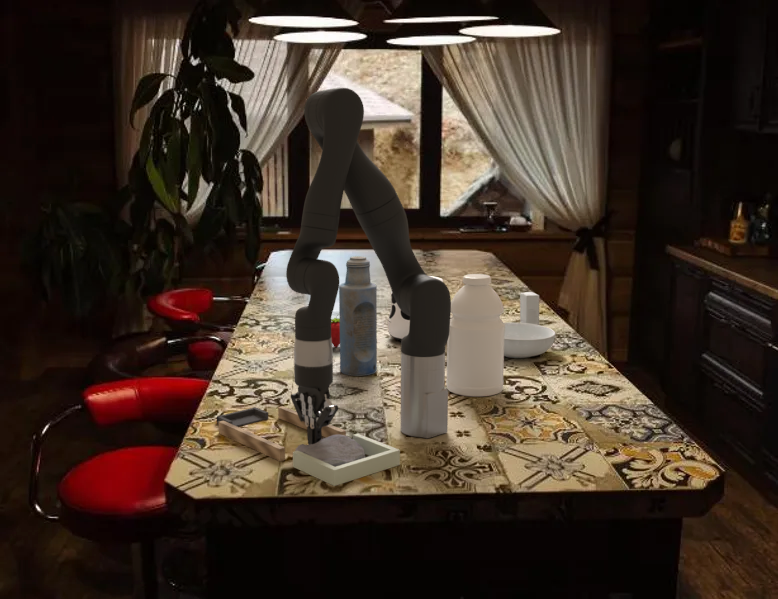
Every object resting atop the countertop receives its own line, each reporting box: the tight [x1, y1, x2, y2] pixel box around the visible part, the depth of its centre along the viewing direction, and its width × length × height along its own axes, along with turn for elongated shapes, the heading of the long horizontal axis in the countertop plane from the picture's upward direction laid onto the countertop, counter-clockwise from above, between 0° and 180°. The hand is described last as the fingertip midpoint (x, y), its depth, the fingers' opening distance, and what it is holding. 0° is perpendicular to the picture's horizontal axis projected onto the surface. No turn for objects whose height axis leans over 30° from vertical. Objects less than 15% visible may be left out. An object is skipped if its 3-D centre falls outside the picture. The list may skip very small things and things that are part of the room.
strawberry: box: [331, 314, 340, 348], centre depth 275 cm, size 6×8×10 cm
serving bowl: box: [504, 322, 556, 359], centre depth 268 cm, size 21×21×7 cm
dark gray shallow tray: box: [216, 407, 269, 427], centre depth 210 cm, size 5×10×2 cm, turn 132°
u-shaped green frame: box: [292, 433, 401, 487], centre depth 184 cm, size 13×16×3 cm
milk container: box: [387, 275, 444, 342], centre depth 284 cm, size 17×17×18 cm
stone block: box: [294, 434, 366, 467], centre depth 186 cm, size 12×5×10 cm
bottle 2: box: [445, 273, 506, 397], centre depth 232 cm, size 14×14×28 cm
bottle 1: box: [338, 255, 378, 377], centre depth 247 cm, size 10×10×30 cm
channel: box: [218, 405, 347, 462], centre depth 199 cm, size 22×16×2 cm
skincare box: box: [519, 291, 540, 325], centre depth 293 cm, size 6×4×12 cm
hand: (314, 444), depth 191 cm, fingers closed
